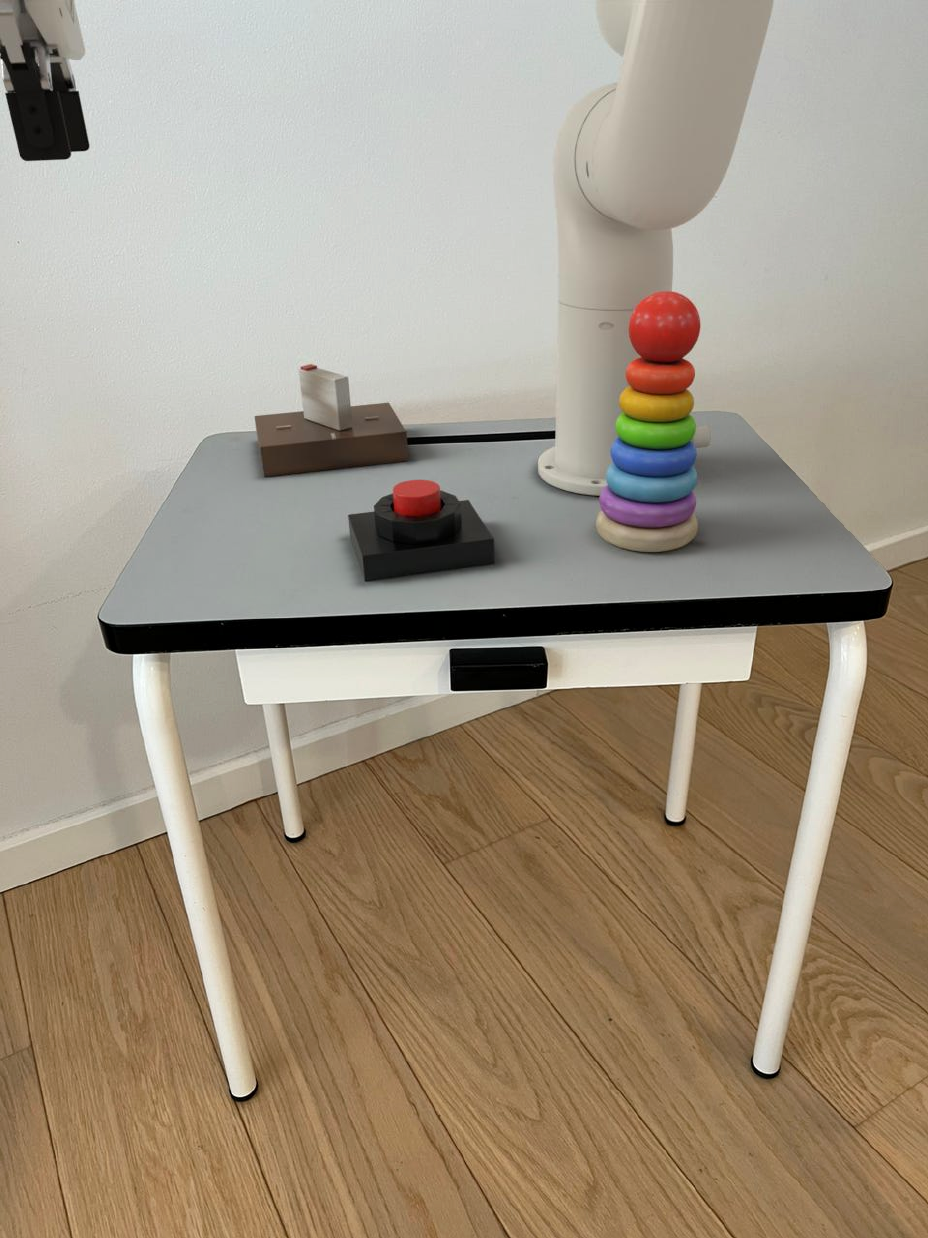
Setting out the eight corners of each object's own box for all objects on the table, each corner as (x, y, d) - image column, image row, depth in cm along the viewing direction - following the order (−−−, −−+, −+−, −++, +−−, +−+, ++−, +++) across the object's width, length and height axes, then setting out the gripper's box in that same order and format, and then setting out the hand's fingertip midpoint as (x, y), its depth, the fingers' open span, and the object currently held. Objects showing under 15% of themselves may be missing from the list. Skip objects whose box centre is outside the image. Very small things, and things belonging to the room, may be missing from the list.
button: (435, 497, 75) (434, 476, 74) (445, 515, 72) (444, 493, 71) (390, 503, 74) (389, 482, 73) (398, 521, 71) (397, 499, 70)
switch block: (469, 524, 79) (467, 478, 77) (494, 564, 72) (493, 516, 70) (350, 539, 77) (345, 493, 75) (364, 582, 70) (360, 533, 68)
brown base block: (390, 429, 101) (388, 400, 99) (408, 461, 92) (406, 430, 91) (258, 443, 98) (254, 413, 97) (263, 477, 90) (259, 445, 88)
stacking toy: (697, 560, 72) (723, 305, 62) (591, 553, 73) (602, 303, 64) (696, 518, 78) (720, 282, 69) (599, 513, 80) (610, 281, 71)
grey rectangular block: (353, 427, 92) (348, 373, 90) (340, 431, 91) (334, 377, 89) (316, 414, 96) (311, 363, 94) (303, 418, 95) (297, 366, 93)
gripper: (31, -181, 52) (98, 161, 61) (74, -122, 67) (124, 146, 76) (-116, -184, 51) (-26, 166, 60) (-38, -123, 66) (25, 151, 74)
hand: (58, 155), depth 68 cm, fingers open, 9 cm apart
